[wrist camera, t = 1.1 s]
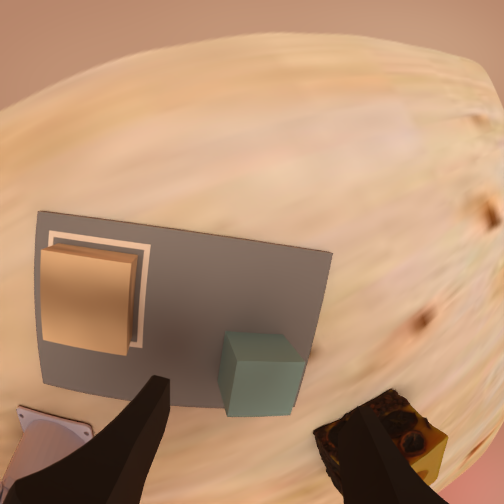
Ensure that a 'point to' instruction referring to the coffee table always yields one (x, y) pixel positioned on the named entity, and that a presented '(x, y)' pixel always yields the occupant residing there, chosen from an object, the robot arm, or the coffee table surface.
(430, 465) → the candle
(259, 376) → the teal block
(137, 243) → the grey mat
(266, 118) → the coffee table surface
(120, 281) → the oak block
